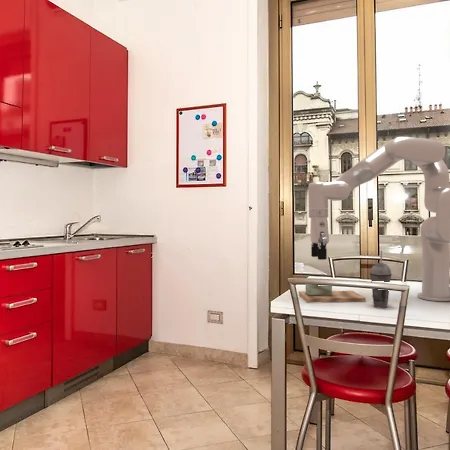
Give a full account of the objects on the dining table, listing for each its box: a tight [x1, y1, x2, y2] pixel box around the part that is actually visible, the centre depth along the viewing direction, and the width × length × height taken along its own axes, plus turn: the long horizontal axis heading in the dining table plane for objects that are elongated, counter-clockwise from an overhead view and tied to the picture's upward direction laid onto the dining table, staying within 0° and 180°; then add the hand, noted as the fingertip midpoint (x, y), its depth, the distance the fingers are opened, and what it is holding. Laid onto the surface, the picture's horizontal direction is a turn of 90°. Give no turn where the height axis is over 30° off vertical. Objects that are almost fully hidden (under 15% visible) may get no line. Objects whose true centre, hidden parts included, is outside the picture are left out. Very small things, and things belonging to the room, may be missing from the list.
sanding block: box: [305, 284, 333, 296], centre depth 163 cm, size 9×5×6 cm, turn 93°
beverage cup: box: [369, 250, 392, 309], centre depth 149 cm, size 7×7×20 cm
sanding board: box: [298, 290, 366, 304], centre depth 164 cm, size 22×14×2 cm, turn 92°
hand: (318, 258), depth 163 cm, fingers open, 9 cm apart
